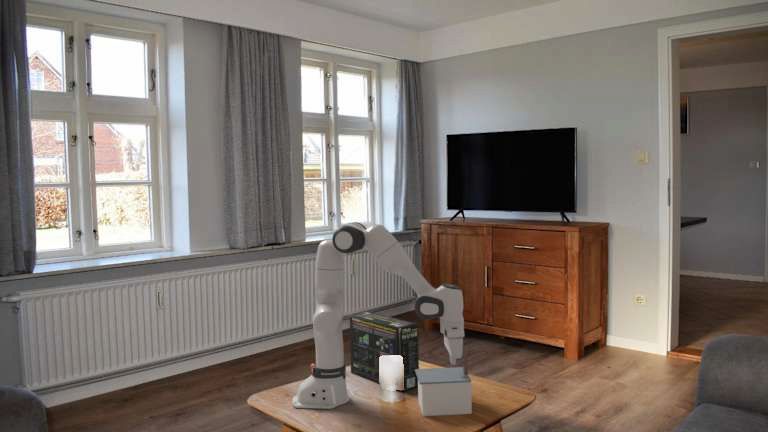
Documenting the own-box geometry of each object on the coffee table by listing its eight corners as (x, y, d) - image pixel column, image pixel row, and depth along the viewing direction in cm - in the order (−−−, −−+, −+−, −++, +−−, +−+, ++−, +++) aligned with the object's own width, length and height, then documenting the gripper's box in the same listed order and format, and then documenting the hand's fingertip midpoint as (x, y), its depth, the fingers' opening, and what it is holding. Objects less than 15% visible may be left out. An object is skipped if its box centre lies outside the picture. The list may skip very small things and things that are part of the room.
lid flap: (419, 384, 226) (419, 361, 226) (415, 370, 242) (414, 349, 241) (471, 381, 227) (470, 358, 227) (463, 368, 243) (463, 346, 242)
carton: (423, 416, 227) (422, 384, 226) (418, 401, 242) (417, 371, 241) (471, 413, 228) (471, 381, 227) (464, 398, 243) (463, 368, 242)
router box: (421, 386, 259) (419, 323, 257) (401, 393, 252) (399, 328, 250) (368, 367, 286) (366, 310, 285) (349, 372, 279) (347, 314, 278)
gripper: (439, 321, 243) (440, 355, 244) (447, 334, 223) (448, 372, 224) (455, 320, 244) (456, 355, 245) (465, 333, 223) (466, 371, 224)
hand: (452, 363), depth 234 cm, fingers closed
